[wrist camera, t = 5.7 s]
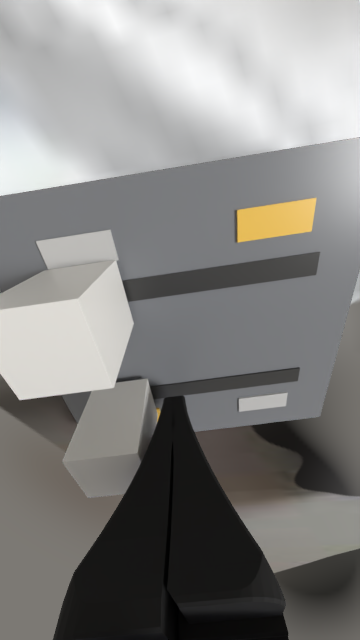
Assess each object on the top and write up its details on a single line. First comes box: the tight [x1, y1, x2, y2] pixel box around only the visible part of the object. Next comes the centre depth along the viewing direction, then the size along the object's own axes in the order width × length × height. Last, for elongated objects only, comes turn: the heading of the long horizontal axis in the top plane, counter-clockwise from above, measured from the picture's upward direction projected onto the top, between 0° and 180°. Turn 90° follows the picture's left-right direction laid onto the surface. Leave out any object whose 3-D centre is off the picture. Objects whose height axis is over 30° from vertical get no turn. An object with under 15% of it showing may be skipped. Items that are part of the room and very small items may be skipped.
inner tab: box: [62, 379, 158, 498], centre depth 11 cm, size 3×3×4 cm
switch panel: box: [0, 137, 360, 432], centre depth 12 cm, size 15×16×2 cm
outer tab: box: [0, 260, 134, 400], centre depth 8 cm, size 3×3×4 cm
